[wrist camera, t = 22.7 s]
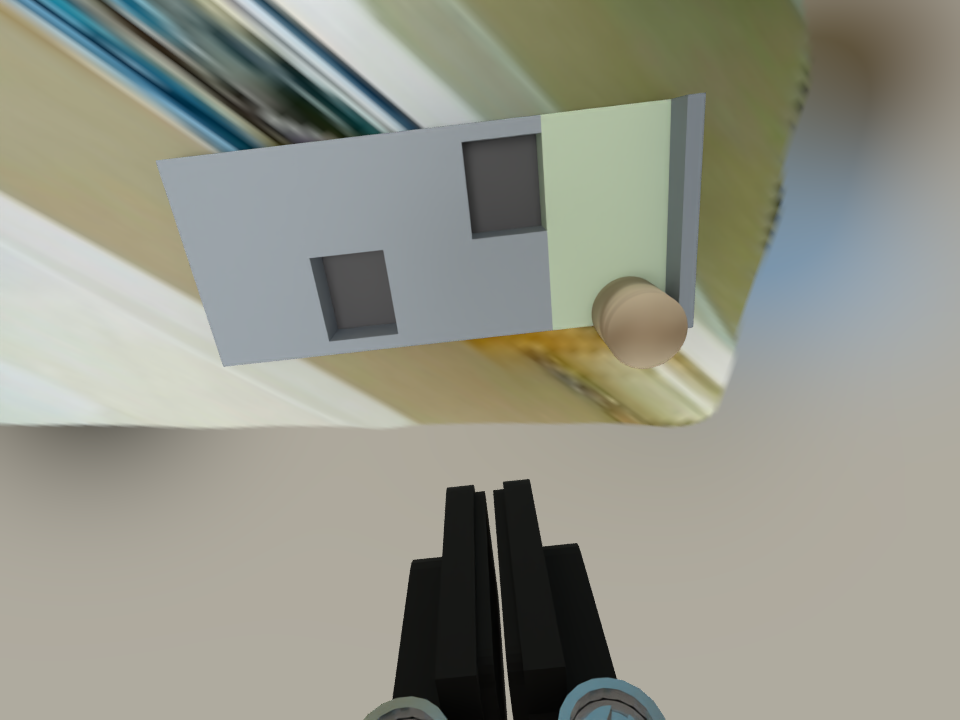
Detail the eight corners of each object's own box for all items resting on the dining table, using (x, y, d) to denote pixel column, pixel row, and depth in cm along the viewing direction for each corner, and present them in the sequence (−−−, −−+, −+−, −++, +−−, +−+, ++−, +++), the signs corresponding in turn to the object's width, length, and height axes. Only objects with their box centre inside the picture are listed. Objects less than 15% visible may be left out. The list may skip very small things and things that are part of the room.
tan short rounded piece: (593, 277, 35) (610, 294, 31) (665, 275, 35) (692, 291, 31) (589, 345, 37) (605, 369, 33) (658, 342, 37) (682, 367, 33)
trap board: (180, 160, 34) (130, 161, 29) (669, 101, 34) (705, 92, 28) (240, 351, 39) (207, 381, 34) (663, 304, 39) (693, 327, 34)
